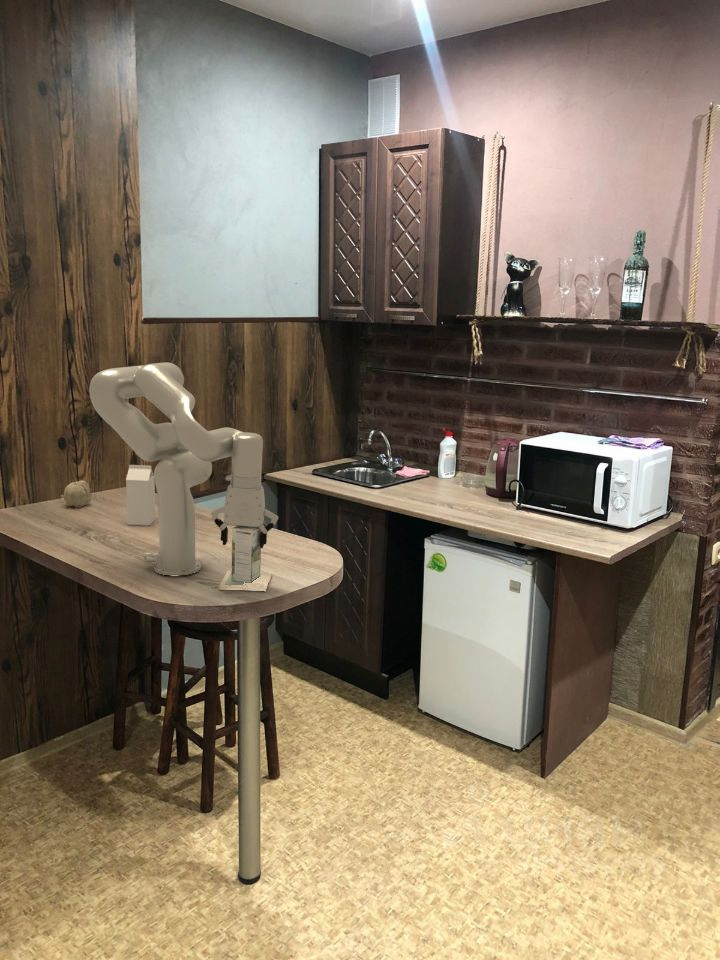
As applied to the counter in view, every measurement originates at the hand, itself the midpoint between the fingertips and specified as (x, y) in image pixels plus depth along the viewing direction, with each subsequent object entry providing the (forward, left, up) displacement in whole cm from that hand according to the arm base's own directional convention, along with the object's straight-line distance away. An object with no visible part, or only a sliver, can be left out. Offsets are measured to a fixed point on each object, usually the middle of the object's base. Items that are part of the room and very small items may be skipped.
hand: (243, 545), depth 206 cm
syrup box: (+1, 0, -9) cm, 9 cm away
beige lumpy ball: (-68, +66, -11) cm, 95 cm away
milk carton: (-41, +50, -11) cm, 65 cm away
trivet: (+1, 0, -10) cm, 10 cm away
